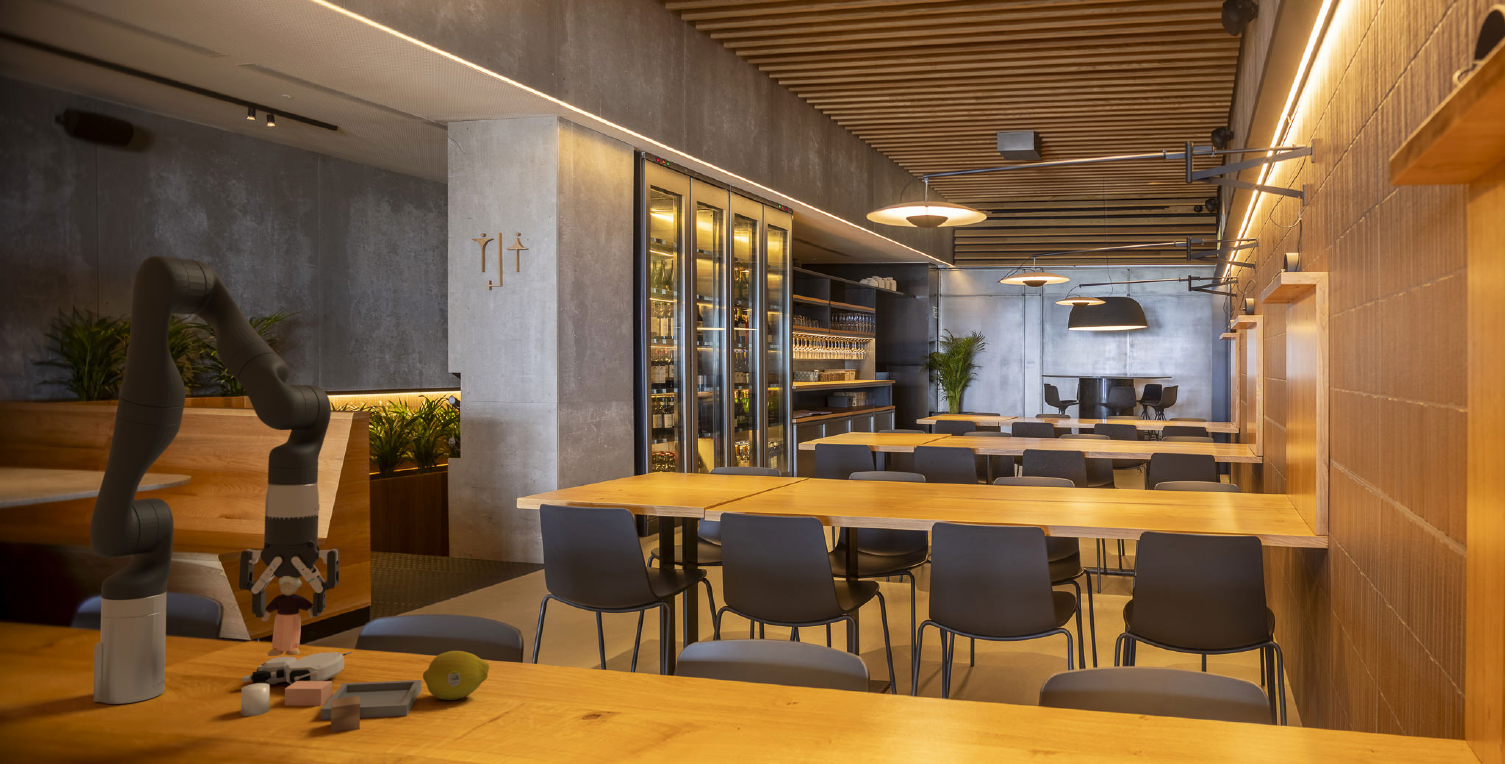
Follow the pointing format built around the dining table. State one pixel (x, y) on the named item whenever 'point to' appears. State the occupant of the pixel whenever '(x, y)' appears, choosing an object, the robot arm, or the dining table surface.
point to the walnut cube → (345, 714)
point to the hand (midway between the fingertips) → (289, 616)
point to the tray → (378, 698)
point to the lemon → (455, 675)
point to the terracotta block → (308, 693)
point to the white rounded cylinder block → (255, 699)
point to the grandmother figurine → (287, 617)
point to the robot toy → (298, 668)
